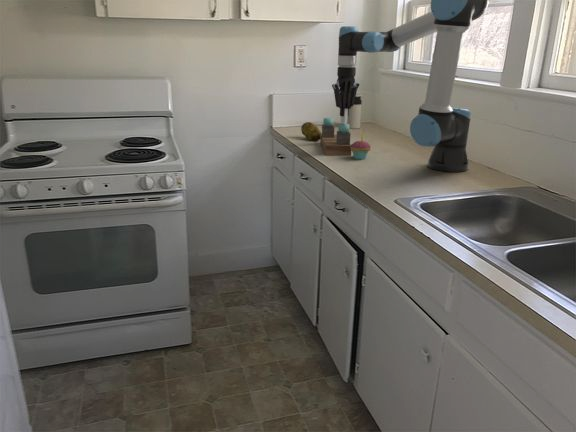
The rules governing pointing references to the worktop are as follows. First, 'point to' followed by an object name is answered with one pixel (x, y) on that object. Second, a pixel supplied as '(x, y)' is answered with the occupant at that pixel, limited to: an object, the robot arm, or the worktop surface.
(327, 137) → the mount
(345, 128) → the knob near
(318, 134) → the potato
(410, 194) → the worktop surface
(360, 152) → the cupcake
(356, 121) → the travel mug
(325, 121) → the knob far
